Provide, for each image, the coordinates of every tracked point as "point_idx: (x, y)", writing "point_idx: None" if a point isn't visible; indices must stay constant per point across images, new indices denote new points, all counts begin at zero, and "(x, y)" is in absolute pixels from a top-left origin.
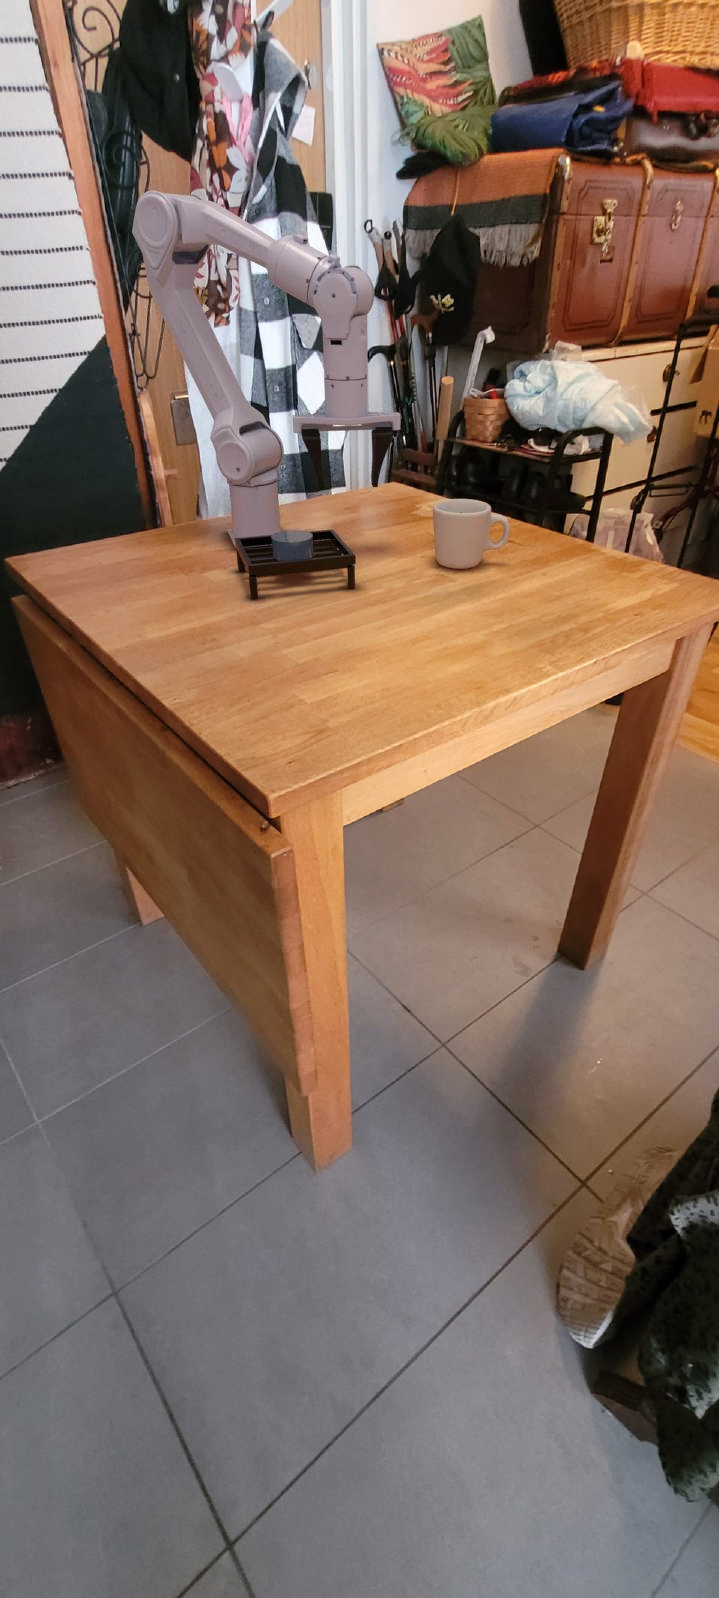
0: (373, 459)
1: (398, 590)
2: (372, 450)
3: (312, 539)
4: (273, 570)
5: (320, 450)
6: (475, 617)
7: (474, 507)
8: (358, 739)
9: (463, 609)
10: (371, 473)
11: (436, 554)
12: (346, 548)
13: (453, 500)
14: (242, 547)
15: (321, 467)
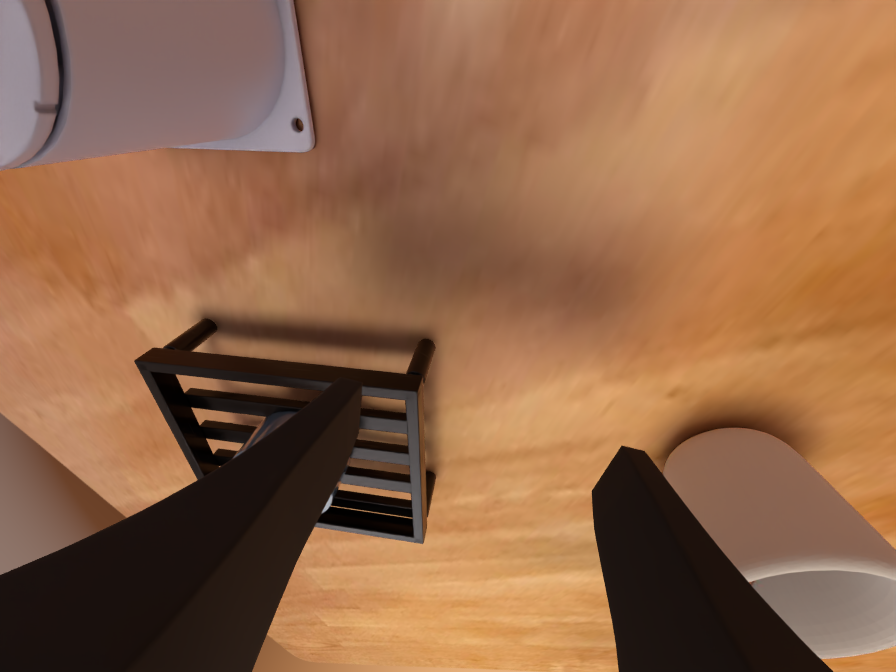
0: (653, 611)
1: (507, 508)
2: (710, 644)
3: (333, 499)
4: None
5: (248, 667)
6: (565, 598)
7: (893, 585)
8: (359, 657)
9: (566, 581)
10: (639, 488)
11: (666, 475)
12: (415, 512)
13: (862, 572)
14: (176, 429)
15: (306, 541)
